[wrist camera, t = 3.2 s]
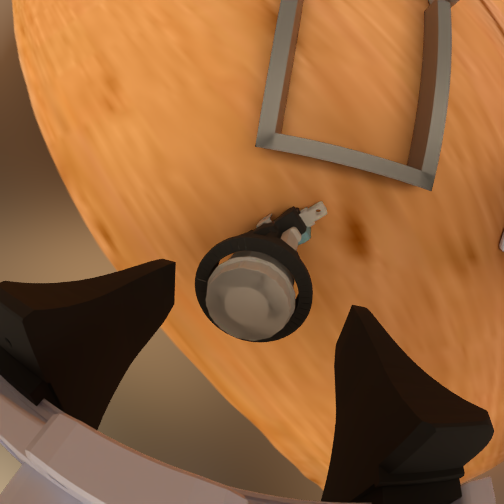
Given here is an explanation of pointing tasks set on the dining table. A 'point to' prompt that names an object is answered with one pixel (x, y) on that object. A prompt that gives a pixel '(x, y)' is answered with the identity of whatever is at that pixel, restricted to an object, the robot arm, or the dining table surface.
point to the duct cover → (451, 0)
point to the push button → (260, 278)
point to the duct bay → (415, 173)
